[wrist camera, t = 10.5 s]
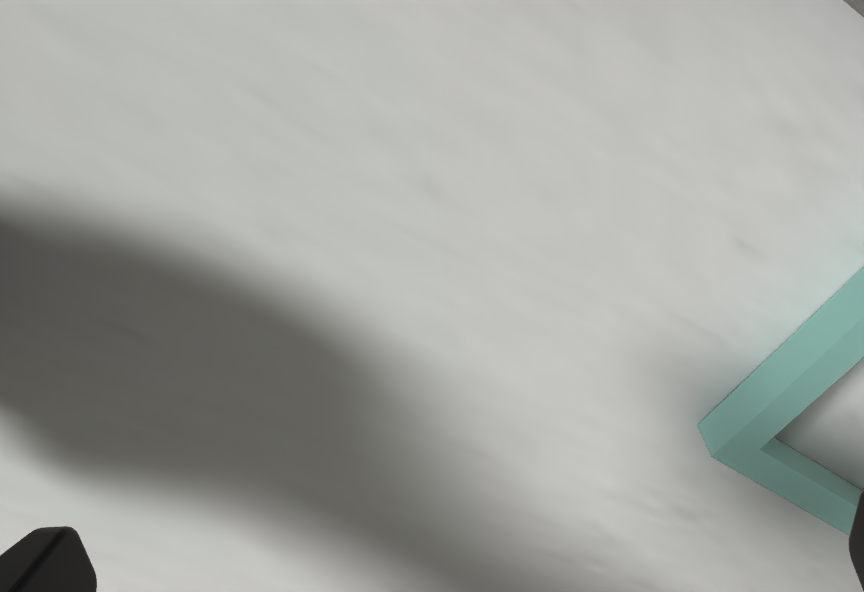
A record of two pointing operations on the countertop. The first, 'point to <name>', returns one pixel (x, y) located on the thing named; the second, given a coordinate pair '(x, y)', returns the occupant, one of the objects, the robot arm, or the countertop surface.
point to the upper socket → (857, 5)
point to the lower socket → (793, 409)
